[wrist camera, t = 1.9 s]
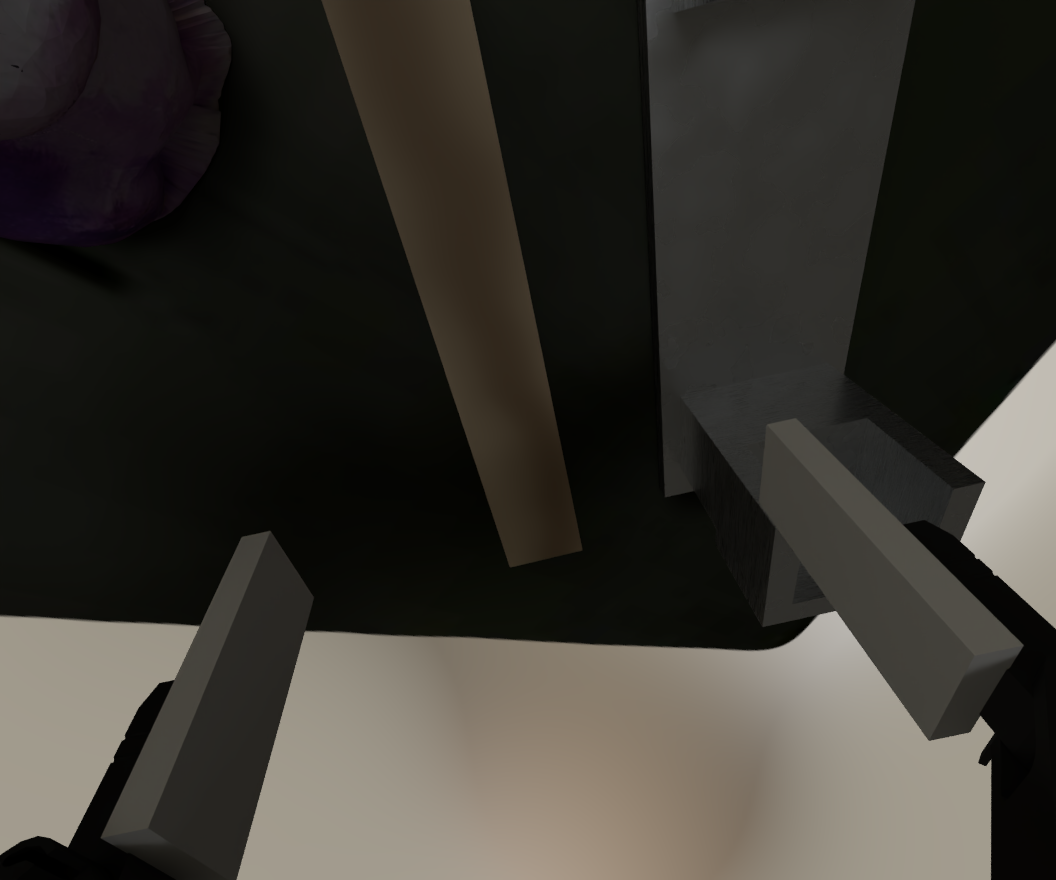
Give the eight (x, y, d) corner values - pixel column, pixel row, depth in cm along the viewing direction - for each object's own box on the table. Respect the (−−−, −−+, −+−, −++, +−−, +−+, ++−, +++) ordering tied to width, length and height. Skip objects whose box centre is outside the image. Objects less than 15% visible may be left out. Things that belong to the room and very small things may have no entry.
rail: (502, 505, 32) (509, 567, 28) (348, 14, 19) (320, -3, 15) (565, 490, 32) (582, 550, 28) (458, -13, 19) (462, -38, 14)
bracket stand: (659, 486, 33) (739, 642, 24) (624, -280, 15) (869, -777, 6) (817, 451, 33) (957, 594, 24) (959, -355, 15) (1675, -961, 6)
